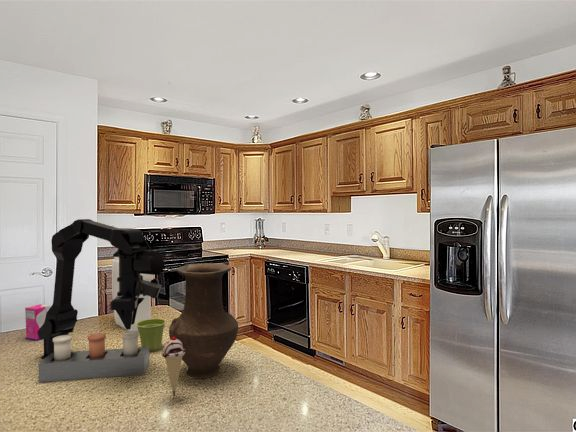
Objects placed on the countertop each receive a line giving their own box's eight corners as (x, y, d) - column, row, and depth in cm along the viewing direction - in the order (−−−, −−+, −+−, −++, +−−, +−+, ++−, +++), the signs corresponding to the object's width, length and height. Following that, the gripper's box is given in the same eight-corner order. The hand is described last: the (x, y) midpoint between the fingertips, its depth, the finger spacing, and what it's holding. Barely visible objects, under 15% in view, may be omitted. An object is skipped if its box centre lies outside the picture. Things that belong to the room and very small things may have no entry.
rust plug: (85, 361, 107) (85, 338, 107) (91, 355, 112) (90, 333, 112) (103, 360, 108) (103, 337, 108) (108, 354, 113) (107, 332, 112)
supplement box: (41, 334, 144) (41, 303, 144) (51, 336, 141) (51, 305, 141) (25, 339, 139) (24, 307, 138) (35, 341, 136) (35, 308, 136)
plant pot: (147, 355, 122) (146, 328, 122) (130, 349, 128) (130, 323, 128) (172, 347, 130) (171, 321, 130) (155, 341, 135) (155, 317, 135)
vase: (164, 389, 99) (163, 273, 99) (174, 360, 118) (173, 262, 118) (239, 384, 102) (239, 271, 102) (237, 356, 121) (237, 261, 121)
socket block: (38, 382, 104) (38, 364, 103) (51, 370, 111) (51, 353, 111) (144, 374, 108) (144, 356, 108) (149, 363, 116) (149, 346, 116)
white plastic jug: (102, 321, 159) (101, 249, 159) (129, 316, 167) (129, 247, 166) (126, 338, 139) (126, 255, 139) (156, 331, 147) (156, 252, 146)
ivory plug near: (50, 363, 106) (49, 340, 105) (57, 357, 110) (56, 335, 110) (68, 362, 106) (68, 339, 106) (74, 356, 111) (74, 334, 111)
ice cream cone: (172, 405, 91) (172, 342, 91) (156, 398, 94) (156, 337, 94) (190, 395, 96) (190, 335, 96) (174, 389, 99) (174, 331, 99)
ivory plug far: (120, 359, 109) (119, 336, 109) (124, 353, 113) (123, 331, 113) (137, 357, 110) (137, 335, 109) (140, 352, 114) (140, 330, 114)
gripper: (153, 277, 103) (154, 335, 104) (163, 267, 122) (163, 316, 122) (109, 278, 101) (110, 338, 102) (125, 268, 120) (126, 318, 120)
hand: (130, 326), depth 111 cm, fingers open, 5 cm apart
